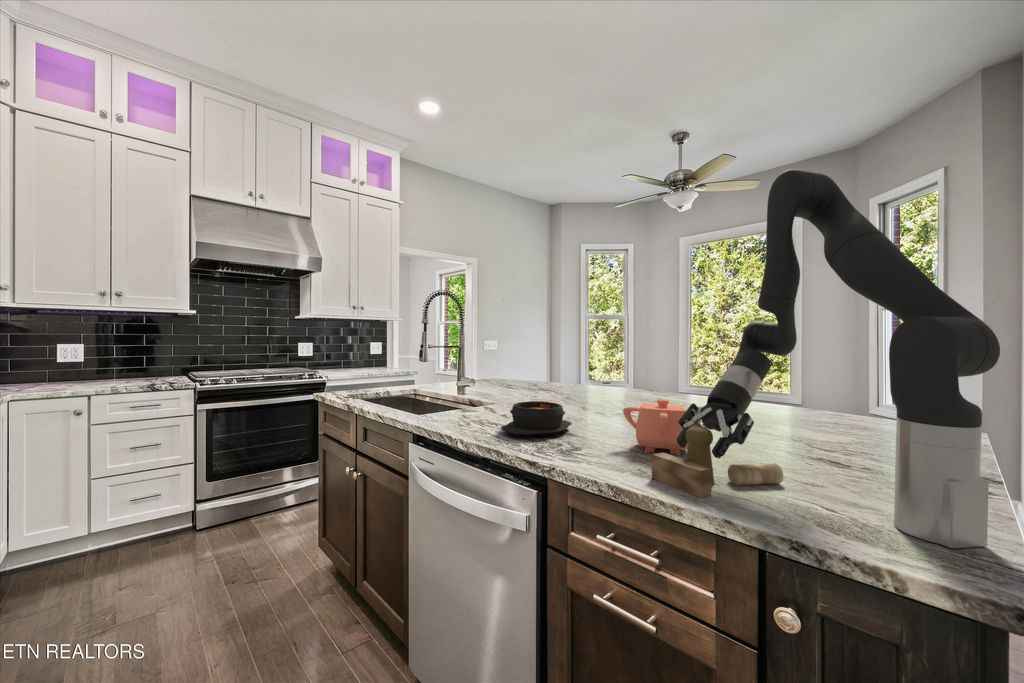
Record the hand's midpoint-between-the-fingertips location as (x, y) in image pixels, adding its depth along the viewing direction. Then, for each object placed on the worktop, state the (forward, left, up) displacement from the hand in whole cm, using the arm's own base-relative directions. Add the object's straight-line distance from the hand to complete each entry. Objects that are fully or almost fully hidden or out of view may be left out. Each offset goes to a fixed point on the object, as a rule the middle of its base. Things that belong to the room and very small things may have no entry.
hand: (696, 450), depth 87 cm
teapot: (+25, -6, -7) cm, 27 cm away
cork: (+1, -1, -7) cm, 7 cm away
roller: (0, -12, -4) cm, 13 cm away
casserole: (+48, +24, -7) cm, 54 cm away
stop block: (-2, +4, -7) cm, 8 cm away
